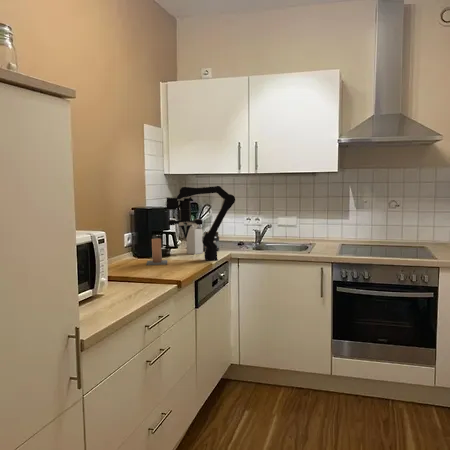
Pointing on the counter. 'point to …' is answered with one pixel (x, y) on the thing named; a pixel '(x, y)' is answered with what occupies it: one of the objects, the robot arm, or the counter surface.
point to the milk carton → (194, 240)
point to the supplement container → (216, 241)
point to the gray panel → (164, 262)
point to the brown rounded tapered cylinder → (156, 250)
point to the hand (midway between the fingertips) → (185, 237)
